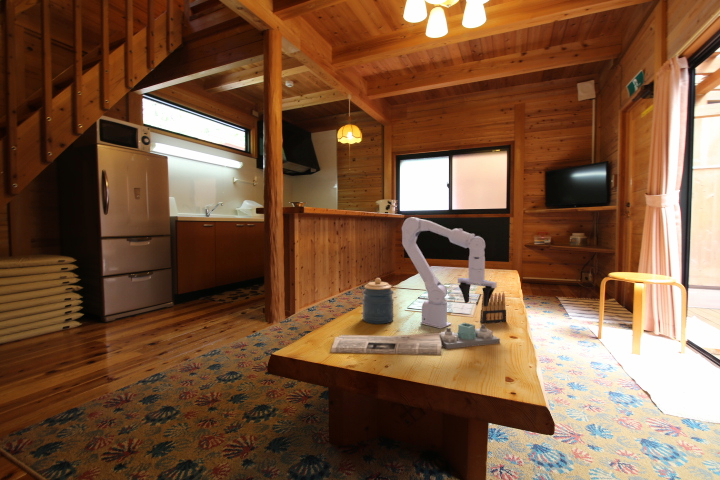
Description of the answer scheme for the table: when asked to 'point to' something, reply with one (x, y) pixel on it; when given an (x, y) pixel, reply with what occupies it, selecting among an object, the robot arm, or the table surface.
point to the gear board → (453, 341)
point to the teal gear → (466, 331)
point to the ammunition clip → (493, 310)
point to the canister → (378, 302)
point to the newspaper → (388, 344)
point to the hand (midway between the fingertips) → (476, 304)
